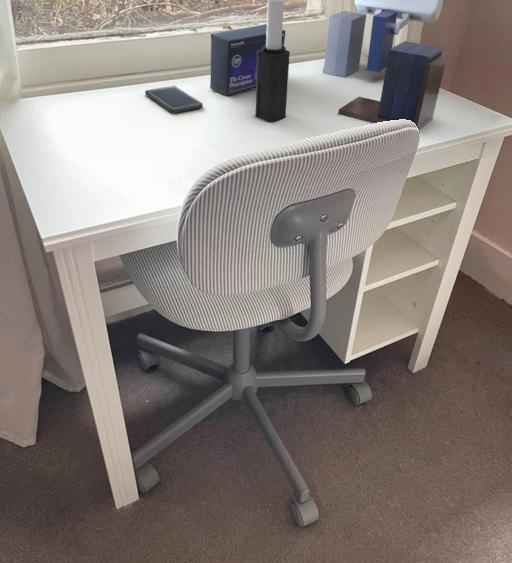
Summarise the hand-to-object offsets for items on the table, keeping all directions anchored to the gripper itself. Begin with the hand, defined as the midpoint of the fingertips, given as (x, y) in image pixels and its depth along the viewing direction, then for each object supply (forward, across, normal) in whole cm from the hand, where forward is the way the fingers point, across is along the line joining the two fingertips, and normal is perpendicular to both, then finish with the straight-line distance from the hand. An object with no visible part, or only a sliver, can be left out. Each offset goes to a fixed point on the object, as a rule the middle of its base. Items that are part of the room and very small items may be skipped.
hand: (385, 31), depth 126 cm
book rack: (+24, +12, -9) cm, 28 cm away
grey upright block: (+8, -10, +7) cm, 14 cm away
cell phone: (+38, -29, -23) cm, 53 cm away
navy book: (+7, 0, +5) cm, 8 cm away
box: (+26, -22, -10) cm, 35 cm away
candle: (+35, -7, -19) cm, 40 cm away
